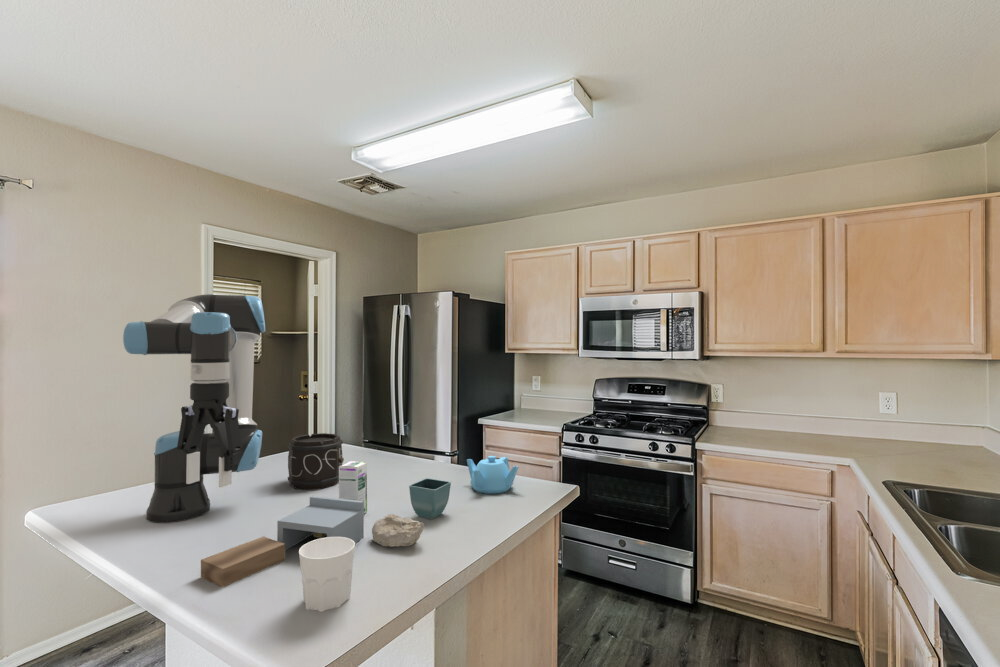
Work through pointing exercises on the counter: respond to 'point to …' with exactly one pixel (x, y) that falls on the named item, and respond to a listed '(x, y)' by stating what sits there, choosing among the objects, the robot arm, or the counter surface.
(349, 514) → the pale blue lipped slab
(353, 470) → the syrup box
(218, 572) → the board
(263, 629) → the counter surface
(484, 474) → the teapot
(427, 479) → the flower pot
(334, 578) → the cup
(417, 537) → the stone
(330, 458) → the coffee canister
